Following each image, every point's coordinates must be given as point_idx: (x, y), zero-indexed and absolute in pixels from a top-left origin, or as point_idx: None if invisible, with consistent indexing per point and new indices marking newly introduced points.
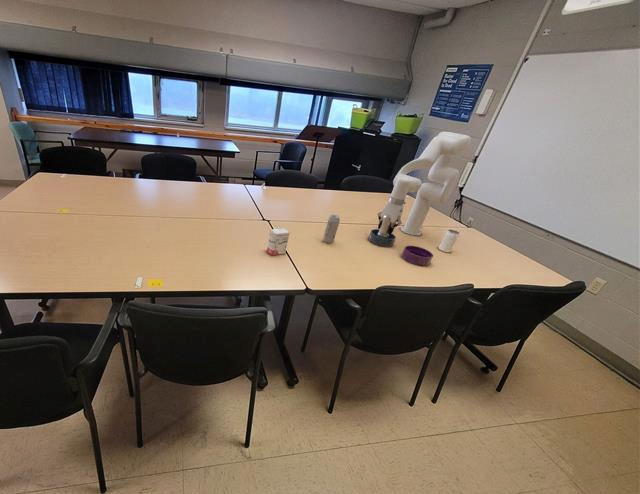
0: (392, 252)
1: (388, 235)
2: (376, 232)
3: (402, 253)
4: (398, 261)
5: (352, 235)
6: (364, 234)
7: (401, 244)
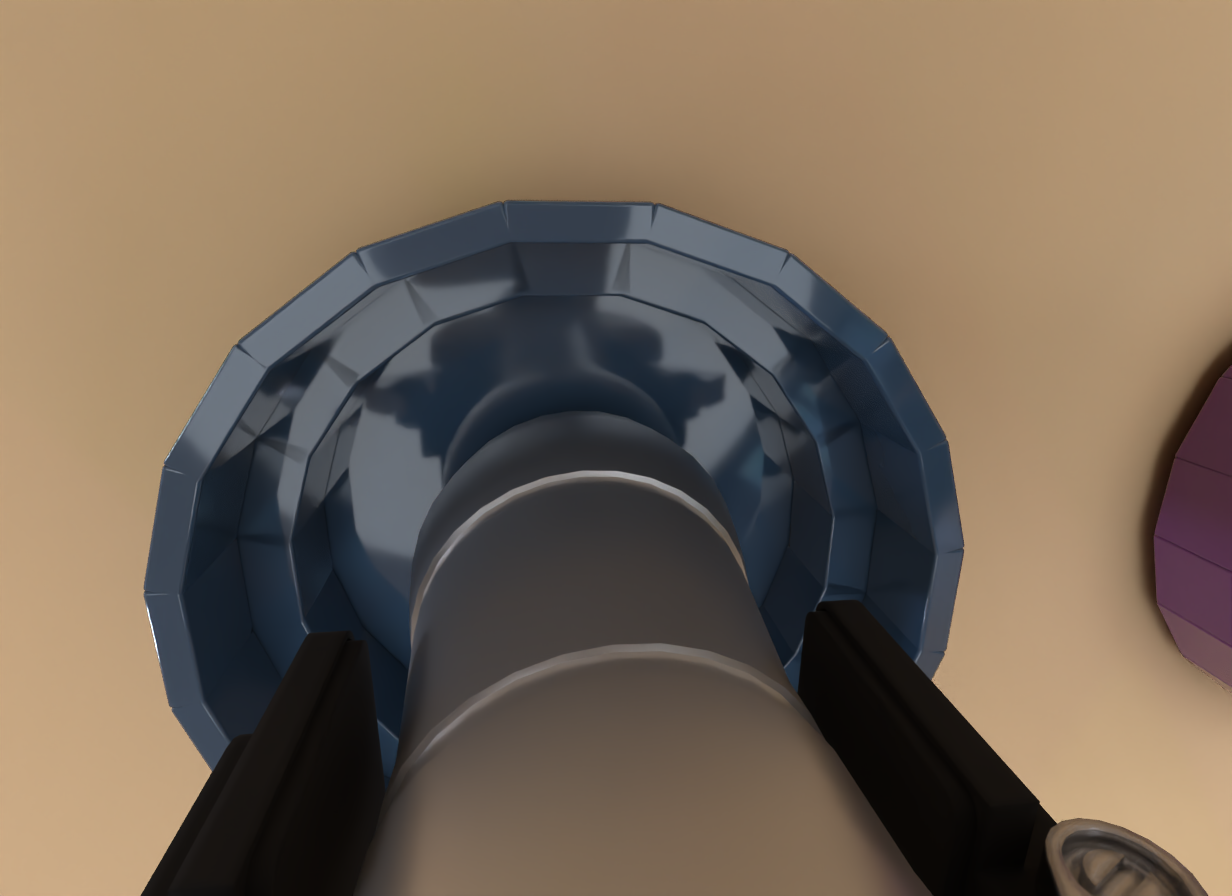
0: (991, 661)
1: (737, 562)
2: (244, 470)
3: (1204, 651)
4: (1189, 812)
5: (107, 881)
6: (81, 564)
7: (894, 21)
